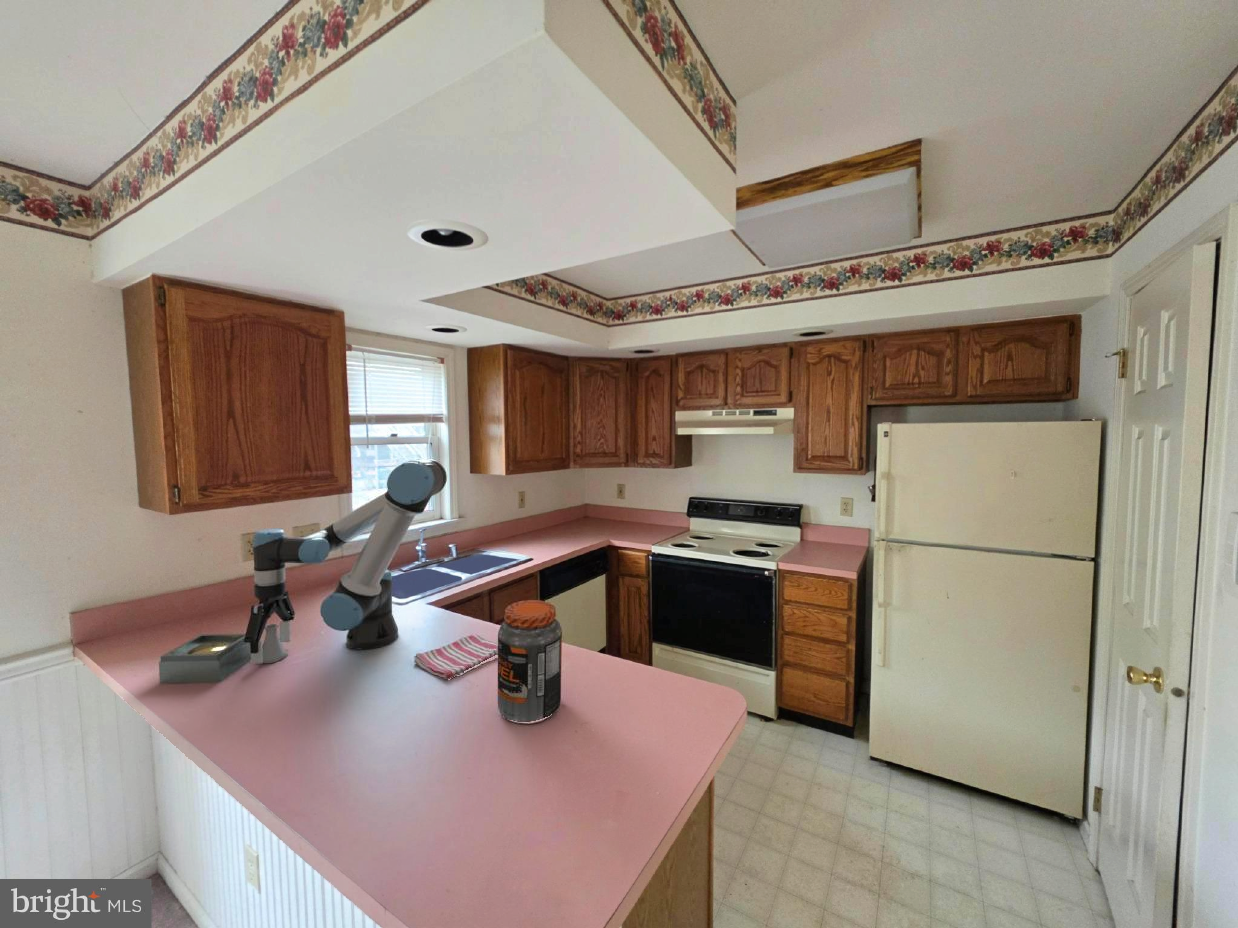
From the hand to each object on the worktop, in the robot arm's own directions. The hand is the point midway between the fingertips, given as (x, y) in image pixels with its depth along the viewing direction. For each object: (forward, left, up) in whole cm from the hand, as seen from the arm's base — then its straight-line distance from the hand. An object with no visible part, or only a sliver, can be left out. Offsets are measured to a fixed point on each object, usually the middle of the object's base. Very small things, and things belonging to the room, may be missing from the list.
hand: (271, 651), depth 145 cm
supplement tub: (-79, +30, -2) cm, 84 cm away
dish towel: (-56, +2, -3) cm, 56 cm away
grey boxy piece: (+13, +7, -2) cm, 14 cm away
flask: (0, 0, -2) cm, 2 cm away
